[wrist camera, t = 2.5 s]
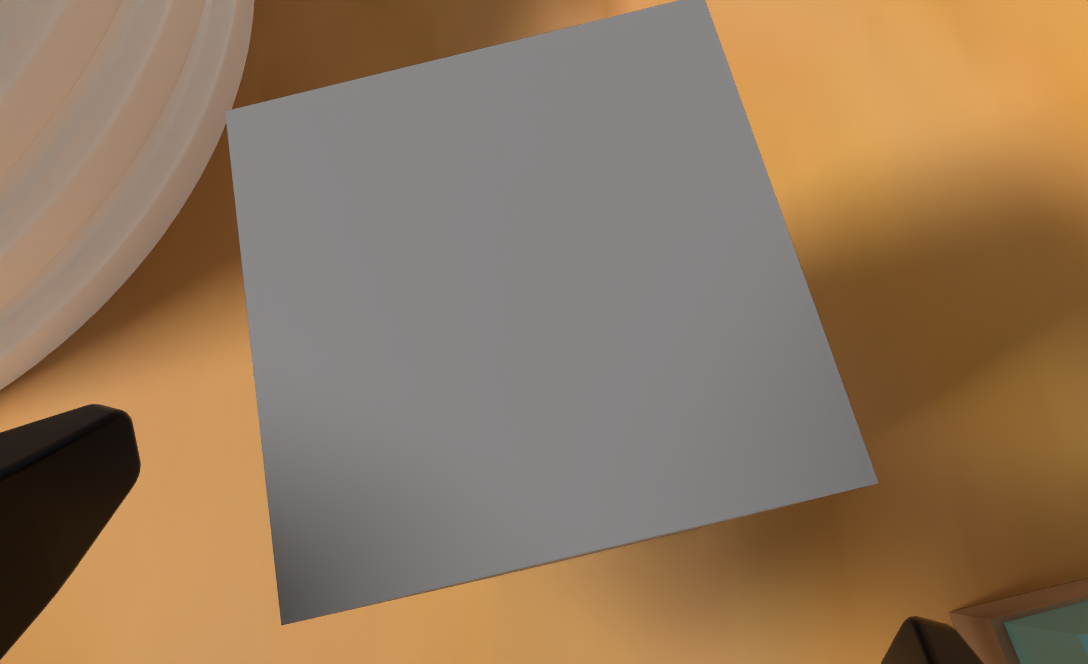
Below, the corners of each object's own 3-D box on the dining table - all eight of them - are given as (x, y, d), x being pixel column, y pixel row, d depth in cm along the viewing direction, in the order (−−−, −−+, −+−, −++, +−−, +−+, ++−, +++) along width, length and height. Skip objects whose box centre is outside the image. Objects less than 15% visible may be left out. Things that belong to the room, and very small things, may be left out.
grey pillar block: (492, 577, 17) (280, 626, 6) (453, 378, 19) (224, 110, 7) (697, 528, 17) (879, 483, 6) (642, 332, 19) (702, -6, 7)
